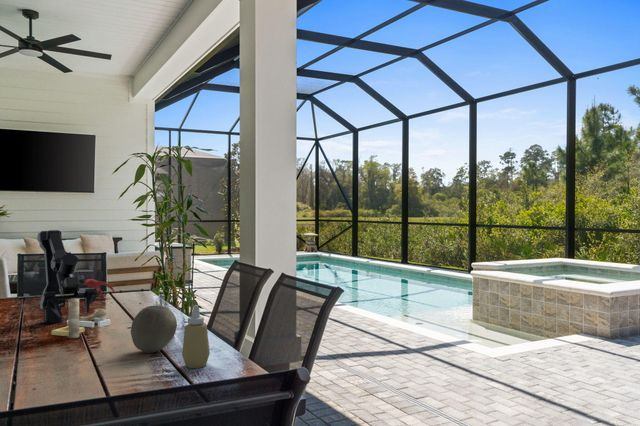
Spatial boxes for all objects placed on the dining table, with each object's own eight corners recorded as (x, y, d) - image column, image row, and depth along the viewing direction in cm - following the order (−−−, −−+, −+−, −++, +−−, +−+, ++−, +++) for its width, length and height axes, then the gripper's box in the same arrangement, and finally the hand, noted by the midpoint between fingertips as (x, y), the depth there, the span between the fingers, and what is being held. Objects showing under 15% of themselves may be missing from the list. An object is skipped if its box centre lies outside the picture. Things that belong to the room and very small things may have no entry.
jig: (36, 333, 196) (36, 328, 196) (81, 321, 217) (81, 316, 218) (69, 336, 191) (69, 330, 191) (112, 323, 213) (112, 318, 213)
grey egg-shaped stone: (151, 359, 159) (150, 311, 159) (121, 353, 166) (121, 307, 167) (185, 349, 171) (185, 304, 171) (156, 344, 178) (156, 301, 178)
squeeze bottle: (184, 362, 156) (184, 303, 156) (211, 361, 157) (211, 302, 157) (179, 370, 148) (179, 308, 148) (207, 369, 149) (207, 307, 149)
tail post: (66, 337, 188) (66, 299, 188) (73, 335, 192) (73, 298, 192) (74, 338, 187) (74, 300, 187) (81, 336, 191) (81, 298, 191)
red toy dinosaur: (71, 304, 286) (58, 286, 276) (78, 291, 293) (67, 273, 283) (117, 305, 282) (106, 287, 272) (124, 292, 288) (114, 274, 278)
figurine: (69, 331, 208) (107, 318, 213) (66, 320, 207) (104, 308, 213) (70, 329, 211) (108, 317, 216) (66, 318, 211) (105, 307, 216)
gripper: (43, 270, 187) (49, 304, 179) (96, 267, 199) (105, 298, 190) (38, 289, 193) (45, 323, 185) (90, 285, 205) (99, 316, 196)
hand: (74, 315), depth 189 cm, fingers open, 9 cm apart
